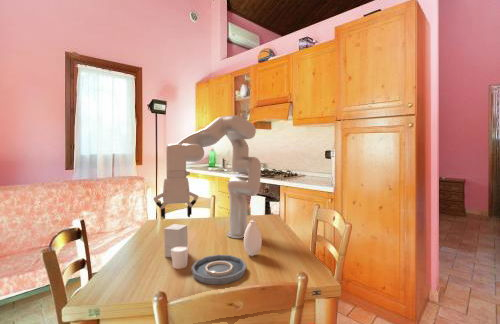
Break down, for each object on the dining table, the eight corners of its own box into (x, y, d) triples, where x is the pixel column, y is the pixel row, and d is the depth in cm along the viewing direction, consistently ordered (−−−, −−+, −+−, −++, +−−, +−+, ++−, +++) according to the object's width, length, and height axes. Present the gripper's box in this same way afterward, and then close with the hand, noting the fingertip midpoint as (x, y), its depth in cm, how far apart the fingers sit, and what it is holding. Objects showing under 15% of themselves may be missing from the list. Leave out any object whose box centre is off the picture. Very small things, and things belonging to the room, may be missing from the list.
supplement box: (188, 252, 121) (188, 225, 120) (178, 259, 114) (178, 229, 113) (174, 250, 123) (173, 223, 123) (164, 256, 116) (163, 228, 116)
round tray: (234, 257, 116) (234, 252, 116) (253, 278, 98) (253, 271, 97) (187, 265, 108) (187, 259, 108) (198, 289, 90) (198, 282, 90)
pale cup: (172, 262, 111) (172, 245, 111) (189, 261, 112) (189, 245, 111) (169, 269, 104) (169, 252, 104) (187, 269, 105) (187, 251, 104)
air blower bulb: (248, 260, 113) (248, 218, 112) (240, 253, 120) (240, 213, 119) (264, 256, 117) (265, 215, 116) (256, 250, 123) (256, 212, 122)
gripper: (196, 173, 113) (196, 213, 114) (153, 174, 108) (153, 216, 108) (199, 175, 106) (199, 218, 107) (153, 176, 100) (153, 221, 101)
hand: (176, 217), depth 108 cm, fingers open, 9 cm apart
